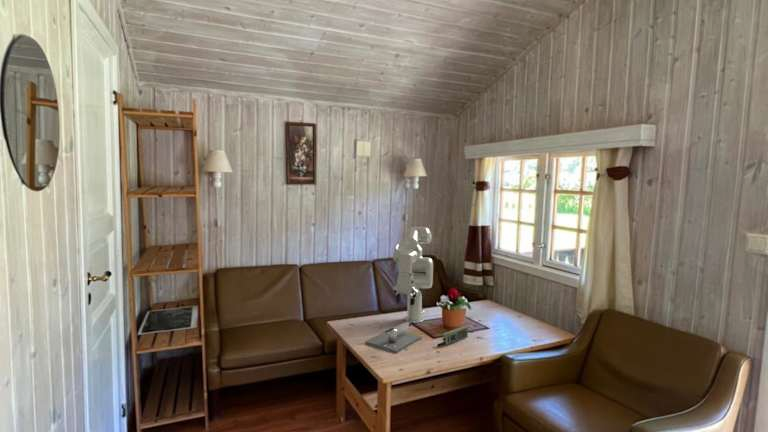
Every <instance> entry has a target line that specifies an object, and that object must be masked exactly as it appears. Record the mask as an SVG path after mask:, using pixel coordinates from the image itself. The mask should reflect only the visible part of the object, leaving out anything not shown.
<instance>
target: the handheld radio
mask: <svg viewBox="0 0 768 432" xmlns="http://www.w3.org/2000/svg"><path fill="white" fill-rule="evenodd" d="M468 332H469V331H468V325H463V326H461V327H458V328H455V329H453V330H452V329H451V330H449V331H446V332H444V333H442V342H440V343H437V347H440V346H443V345H445V346H447V345H450V344H453V343H456V342H458V341H461V340H463V339H466V338H469V337H468V336H469V335H468Z"/></svg>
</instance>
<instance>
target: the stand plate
mask: <svg viewBox="0 0 768 432" xmlns="http://www.w3.org/2000/svg"><path fill="white" fill-rule="evenodd" d="M422 338H423V336H422V335H419V334H415V333H412V332H407V331H405V330H403V331H401V332H399V333H398V334H397V342H393V343H392V342H389V341H388V332H387V333H386V332H385V331H384V332H381V333H378V334H377V335H375V336H373V337H371V338H369V339H367V340H365V341H364V342H365V343H364V344H365V345H368V346H371V347H375V348H378V349H380V350H384V351H387V352H391V353H394V354H398V353H401V352H402V351H403V350H405V349H406V348H408V347H410V346H411V345H413V344H415V343H417V342H419V341H420V340H421V339H422Z"/></svg>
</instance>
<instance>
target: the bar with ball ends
mask: <svg viewBox="0 0 768 432" xmlns="http://www.w3.org/2000/svg"><path fill="white" fill-rule="evenodd" d="M411 326H412V323H411V322H407V321H405V322H402V323H401V324H399V325H397V326H395V327H389V328H388V329H387V330H385V331H384V332H386V333H387V332H388V341H389V342H392V343H393V342H397V334H398V333H399V332H401V331H406V330H407V329H409V328H411Z"/></svg>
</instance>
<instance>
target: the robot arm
mask: <svg viewBox="0 0 768 432" xmlns="http://www.w3.org/2000/svg"><path fill="white" fill-rule="evenodd" d="M404 236H405V237H404V239H402V240H401V241H399V242H398V243H397V244H396V245H395V246H394V250H393V253H392V259H393V261H394V262H395V263H398V276H397V281H396V285H394V286H392V290H393V292H394V294H395V296H396V299H395V300H396V303H399V302H401V300H402V297H401V296H402V294H403V295H407V298H406V299H407V300H406V301H407V314H406V315H407V316H405V317H404V320H405V322H411V324H412V323H413V324H415V323H417V324H418V323H419V324H420V323H422V322H424V321H425V318H424V317H423V315H424V314H425V310H423V311H422V309H423V305H422V304H423V303H422V302H423V301H422V299H423V296H422V295H423V294H422V291H421V290H420V289H431V288H432V287H433V284H434V261H433V259H432V258H431V257H425V256H423V249H422V247H421V245H420V244H425V245H426V244H430V243H431V242H432V238H433V236H432V232H431V230H430V228H428V227H426V226H411V227H409V228H407V230H406V232H405V235H404ZM417 272H421V273H417ZM422 272H423V273H422Z"/></svg>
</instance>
